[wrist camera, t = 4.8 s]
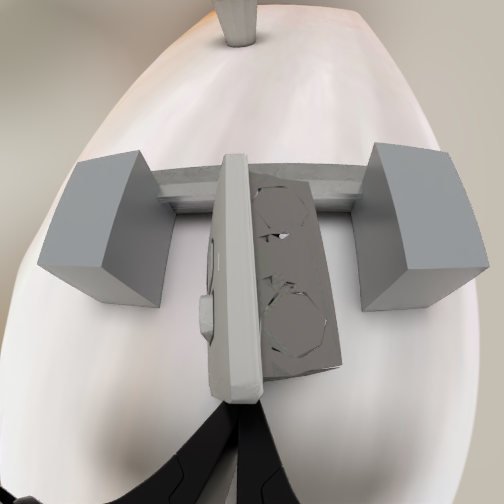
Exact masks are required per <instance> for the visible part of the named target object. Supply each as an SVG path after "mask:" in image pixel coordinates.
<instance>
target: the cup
mask: <svg viewBox="0 0 504 504" xmlns="http://www.w3.org/2000/svg"><path fill="white" fill-rule="evenodd" d="M212 2H213V5H214V7H215V10H216V13H217V16H218V19H219V21H220V24H221V27H222V30H223V33H224V36H225V39H226V42H227V45H228V46H231V47H244V46H248V45H252V44H253V43H255V38H256V20H257V2H258V0H212Z"/></svg>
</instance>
